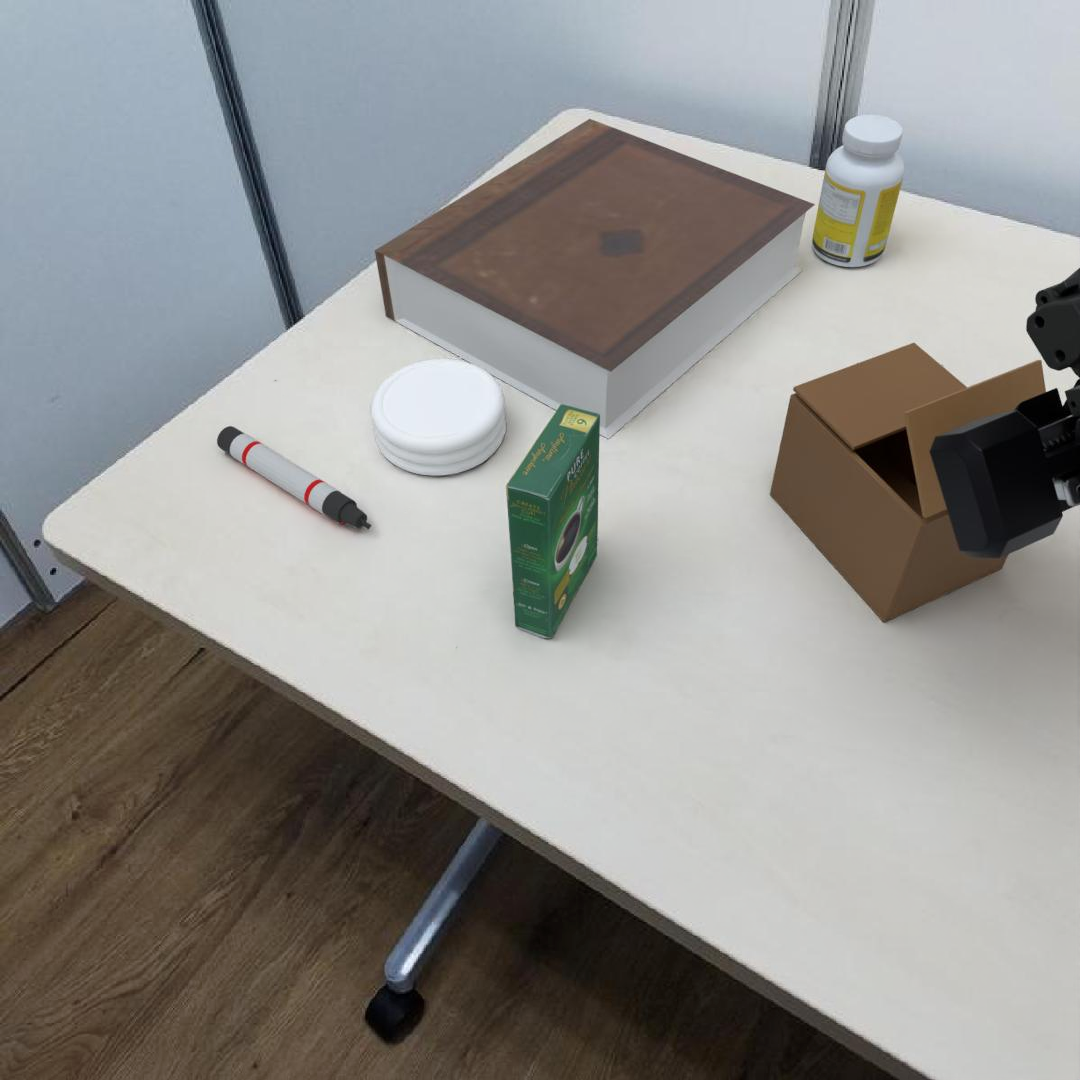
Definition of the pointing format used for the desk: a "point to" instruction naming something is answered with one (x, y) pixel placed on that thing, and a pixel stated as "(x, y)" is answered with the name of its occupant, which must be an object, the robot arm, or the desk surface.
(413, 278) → the book
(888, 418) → the carton
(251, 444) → the marker
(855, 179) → the pill bottle
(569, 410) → the coffee box
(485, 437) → the white round container
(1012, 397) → the flap
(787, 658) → the desk surface
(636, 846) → the desk surface
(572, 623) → the desk surface
